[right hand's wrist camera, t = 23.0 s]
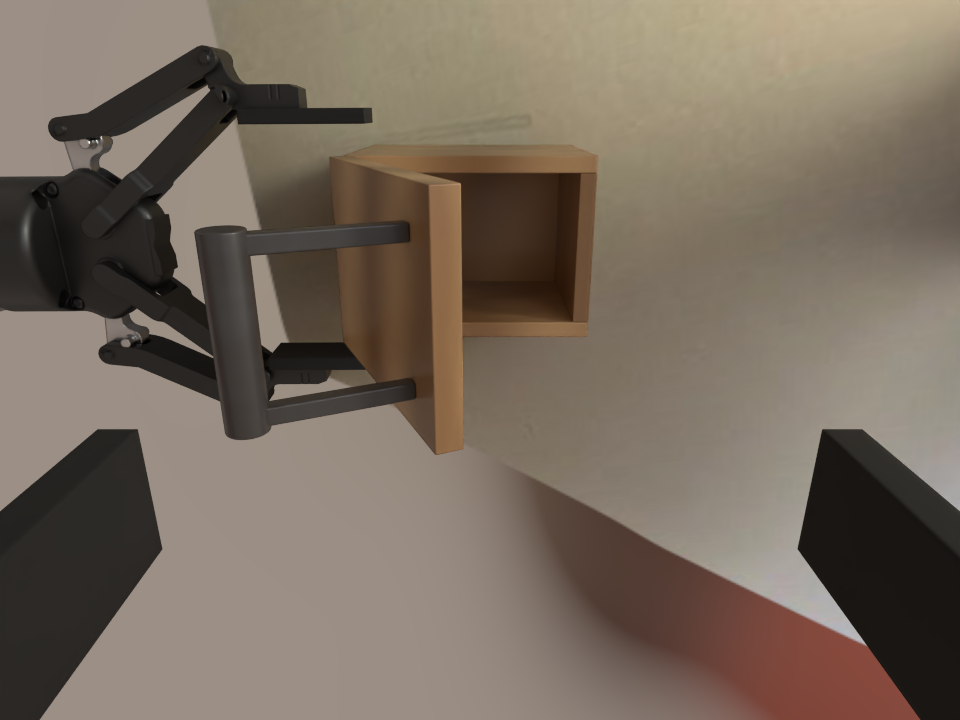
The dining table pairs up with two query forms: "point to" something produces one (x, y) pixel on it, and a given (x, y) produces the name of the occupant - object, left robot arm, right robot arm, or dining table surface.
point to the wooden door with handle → (354, 303)
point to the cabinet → (516, 232)
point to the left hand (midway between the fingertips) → (377, 243)
